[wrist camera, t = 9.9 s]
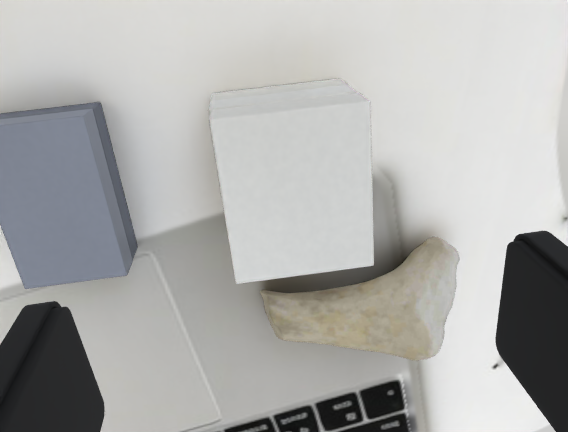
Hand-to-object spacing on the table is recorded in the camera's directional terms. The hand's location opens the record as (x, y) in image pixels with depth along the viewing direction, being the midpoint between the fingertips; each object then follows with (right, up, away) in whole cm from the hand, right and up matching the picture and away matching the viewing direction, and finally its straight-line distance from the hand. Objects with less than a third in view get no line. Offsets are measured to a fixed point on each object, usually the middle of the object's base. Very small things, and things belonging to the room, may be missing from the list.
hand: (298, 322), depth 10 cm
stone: (+4, -2, +19) cm, 19 cm away
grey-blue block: (-11, +4, +14) cm, 19 cm away
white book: (0, +4, +12) cm, 12 cm away
